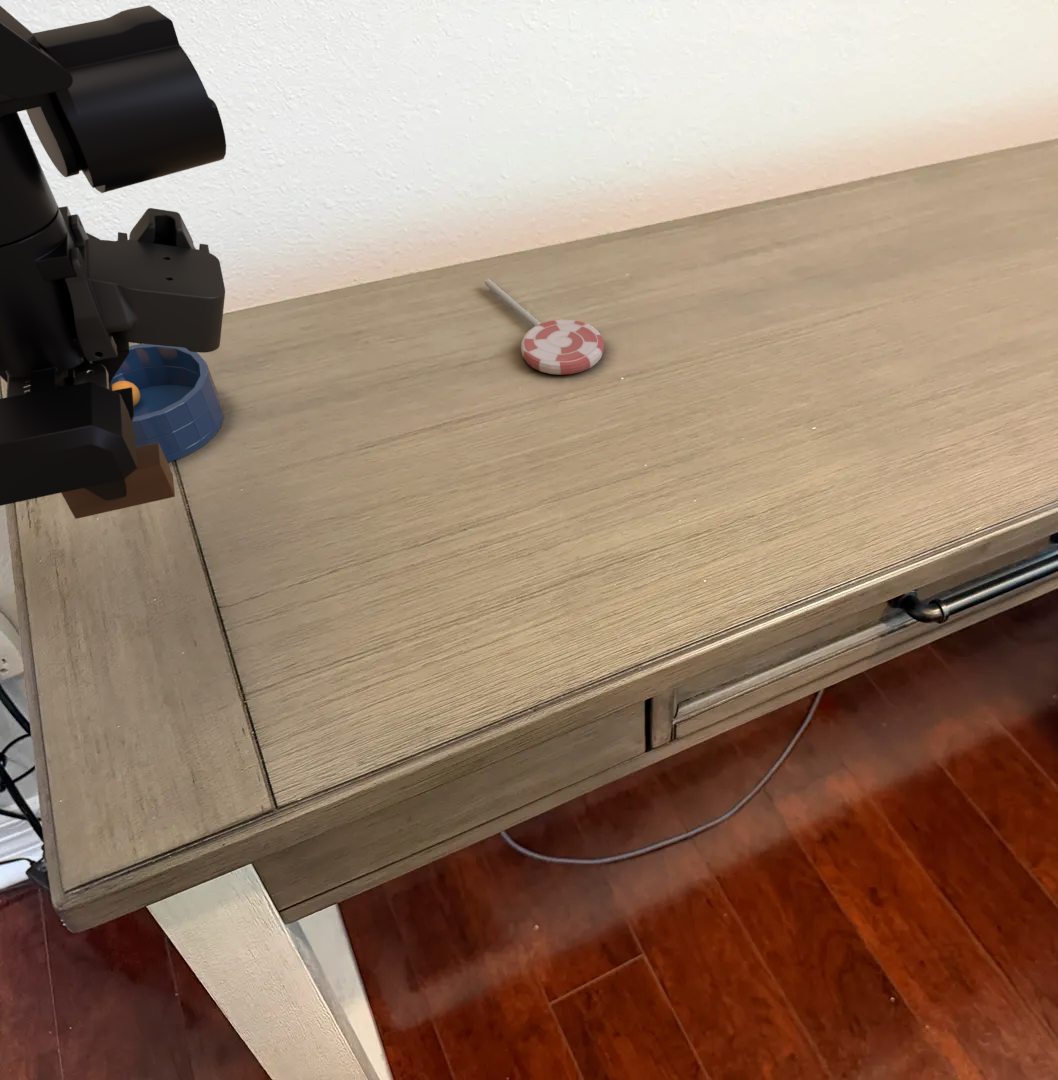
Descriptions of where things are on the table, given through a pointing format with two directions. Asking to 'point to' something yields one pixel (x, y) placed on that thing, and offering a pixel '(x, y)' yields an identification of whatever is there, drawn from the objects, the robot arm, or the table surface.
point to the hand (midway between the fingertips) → (115, 484)
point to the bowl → (171, 398)
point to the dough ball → (127, 384)
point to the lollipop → (556, 342)
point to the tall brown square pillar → (129, 486)
